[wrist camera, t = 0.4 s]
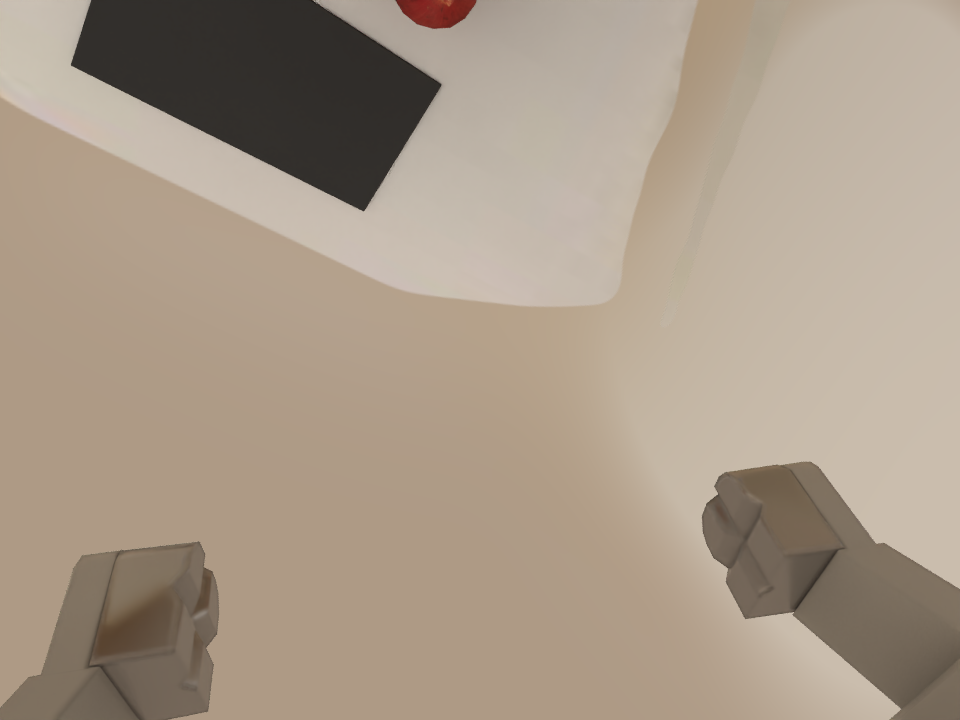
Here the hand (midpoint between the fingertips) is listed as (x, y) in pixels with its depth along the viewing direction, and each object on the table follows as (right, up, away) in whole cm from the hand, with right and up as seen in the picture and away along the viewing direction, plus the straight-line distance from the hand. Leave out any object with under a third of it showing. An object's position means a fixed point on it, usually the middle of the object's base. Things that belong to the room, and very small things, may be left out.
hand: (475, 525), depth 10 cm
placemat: (-15, +23, +37) cm, 46 cm away
